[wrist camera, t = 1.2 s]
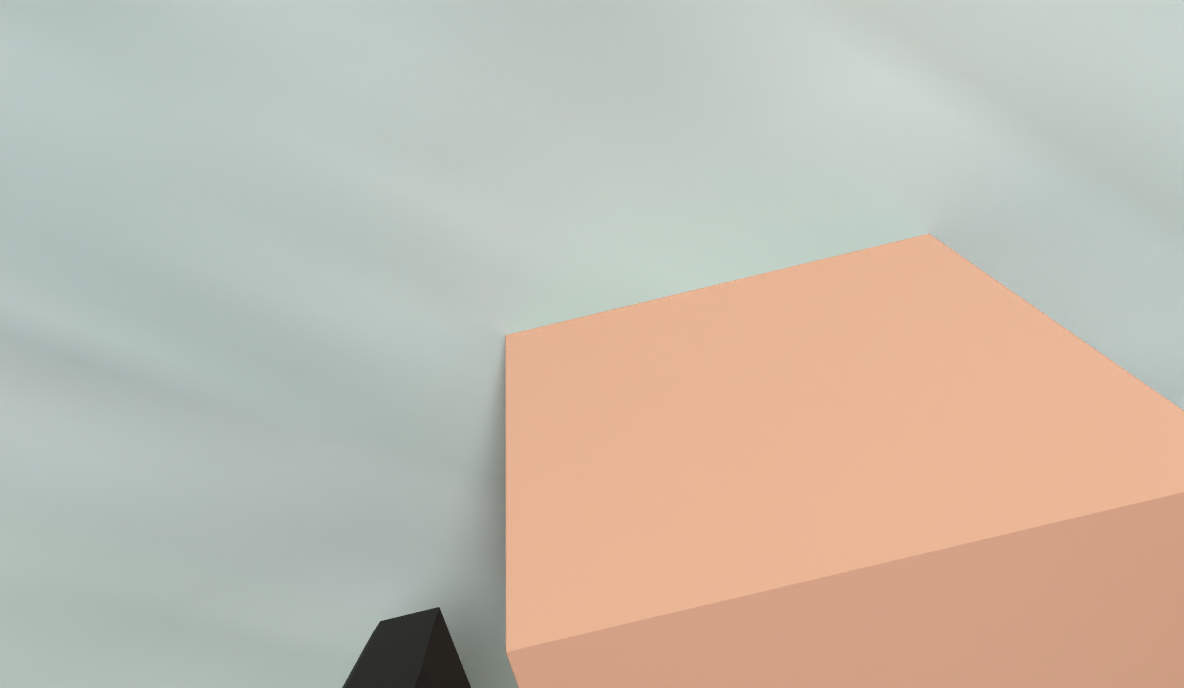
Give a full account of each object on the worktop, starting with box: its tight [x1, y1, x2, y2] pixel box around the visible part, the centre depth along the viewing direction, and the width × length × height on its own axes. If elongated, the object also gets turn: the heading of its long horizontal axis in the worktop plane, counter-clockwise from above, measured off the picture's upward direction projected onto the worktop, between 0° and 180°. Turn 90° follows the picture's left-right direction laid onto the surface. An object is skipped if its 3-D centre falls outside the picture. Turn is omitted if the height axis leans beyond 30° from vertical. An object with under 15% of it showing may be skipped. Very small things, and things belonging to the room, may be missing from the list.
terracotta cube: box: [506, 234, 1184, 688], centre depth 9 cm, size 5×5×5 cm
